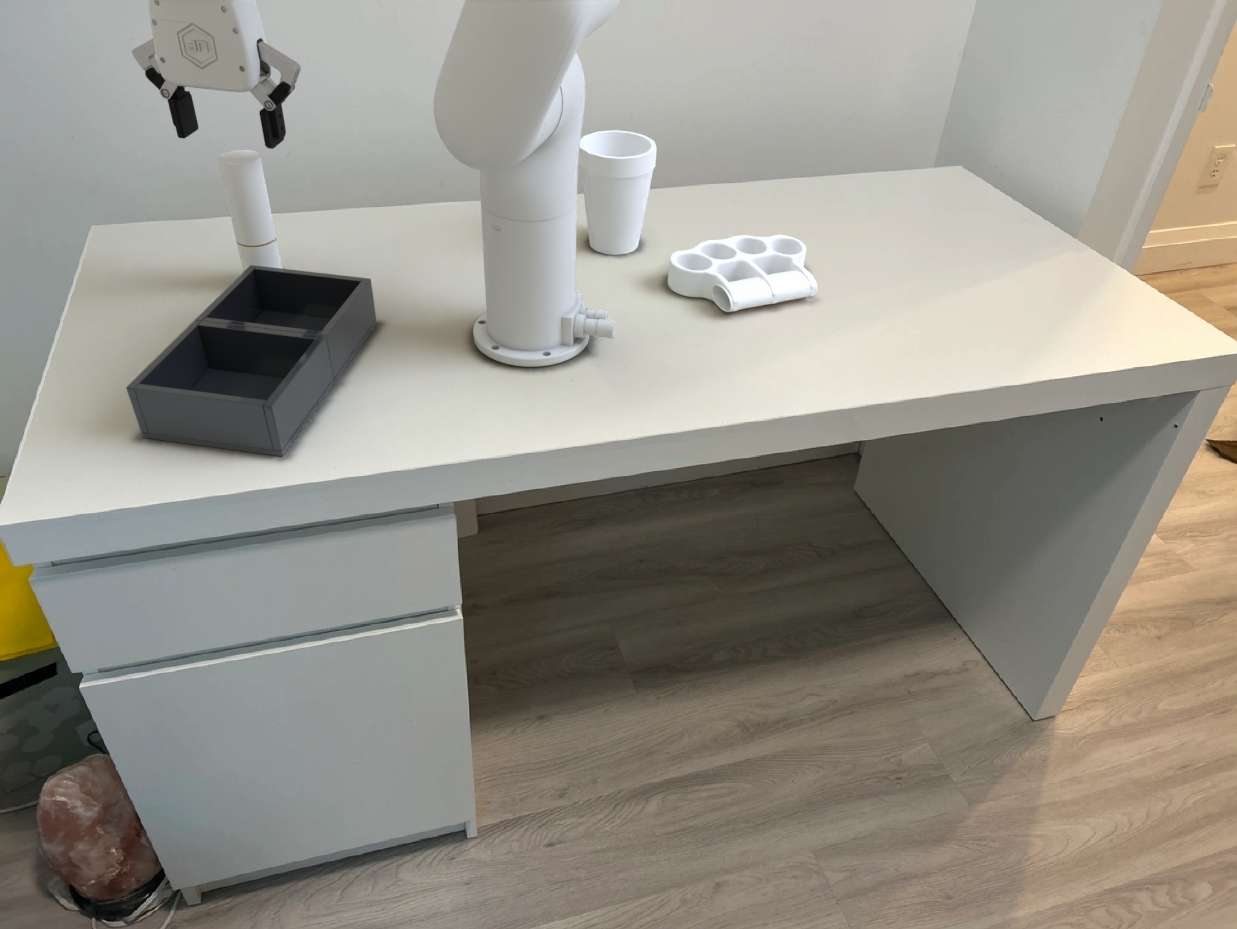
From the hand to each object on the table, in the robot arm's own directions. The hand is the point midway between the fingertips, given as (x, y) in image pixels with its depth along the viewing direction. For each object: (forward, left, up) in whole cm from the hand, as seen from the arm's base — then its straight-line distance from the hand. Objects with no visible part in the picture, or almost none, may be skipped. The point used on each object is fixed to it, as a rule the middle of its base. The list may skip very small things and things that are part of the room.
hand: (231, 138), depth 102 cm
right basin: (-9, +12, -17) cm, 23 cm away
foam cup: (-38, -20, -17) cm, 47 cm away
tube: (0, 0, -17) cm, 17 cm away
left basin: (-9, +24, -17) cm, 31 cm away
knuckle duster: (-55, -13, -17) cm, 59 cm away
